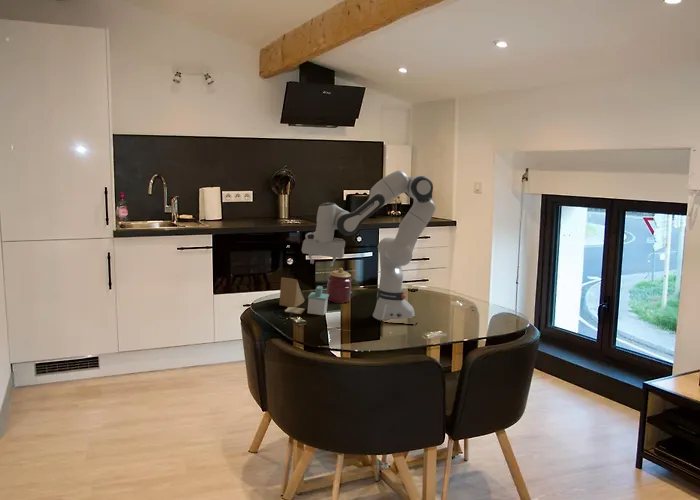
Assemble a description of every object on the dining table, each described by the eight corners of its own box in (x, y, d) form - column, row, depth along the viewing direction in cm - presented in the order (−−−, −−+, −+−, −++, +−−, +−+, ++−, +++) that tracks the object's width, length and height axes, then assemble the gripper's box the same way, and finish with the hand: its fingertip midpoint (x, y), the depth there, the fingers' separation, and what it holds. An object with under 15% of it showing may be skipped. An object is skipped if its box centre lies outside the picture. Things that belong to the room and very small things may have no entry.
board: (304, 310, 311) (304, 308, 310) (300, 315, 303) (300, 313, 303) (288, 308, 312) (288, 306, 311) (284, 312, 304) (284, 310, 304)
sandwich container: (306, 302, 326) (308, 274, 323) (294, 309, 312) (297, 280, 309) (290, 299, 328) (293, 271, 326) (278, 306, 314) (281, 277, 311)
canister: (349, 304, 329) (353, 271, 326) (324, 302, 329) (328, 269, 326) (350, 298, 342) (353, 266, 338) (326, 295, 342) (329, 263, 338)
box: (326, 312, 312) (328, 296, 311) (323, 316, 304) (325, 300, 303) (310, 309, 313) (312, 294, 312) (307, 314, 305) (308, 298, 304)
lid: (328, 296, 311) (329, 286, 310) (325, 300, 303) (326, 290, 302) (311, 293, 312) (312, 284, 311) (307, 298, 304) (308, 288, 303)
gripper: (346, 238, 303) (343, 266, 306) (305, 232, 306) (302, 260, 309) (344, 240, 297) (341, 268, 300) (302, 234, 300) (299, 263, 303)
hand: (321, 264), depth 304 cm, fingers open, 8 cm apart
